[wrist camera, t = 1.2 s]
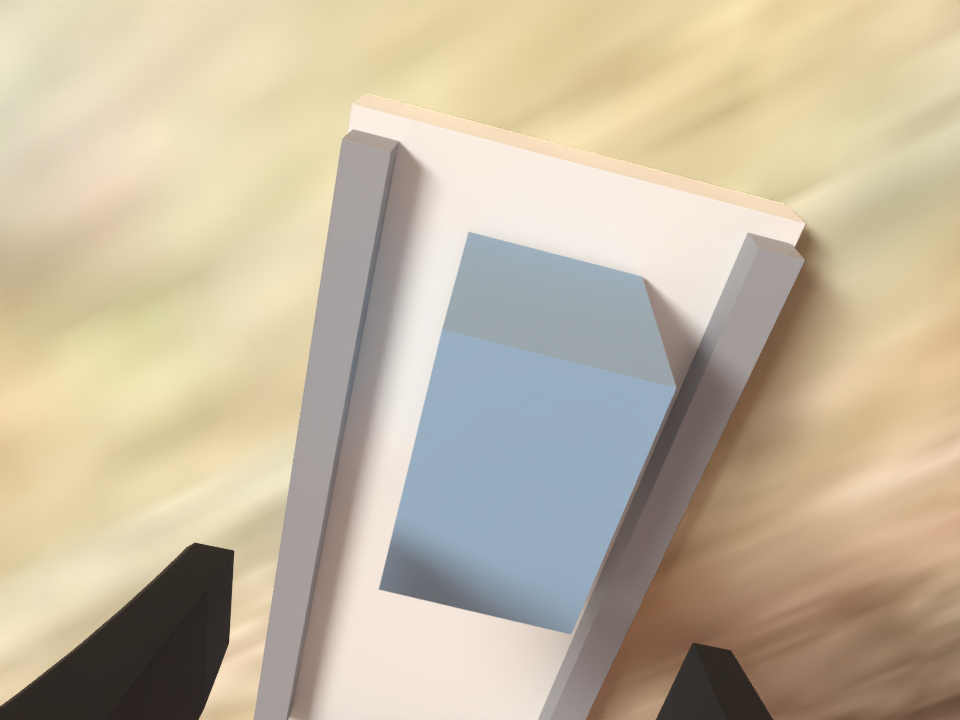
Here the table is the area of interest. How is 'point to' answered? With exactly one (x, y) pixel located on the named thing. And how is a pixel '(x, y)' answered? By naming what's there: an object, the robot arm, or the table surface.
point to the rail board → (404, 382)
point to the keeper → (528, 435)
